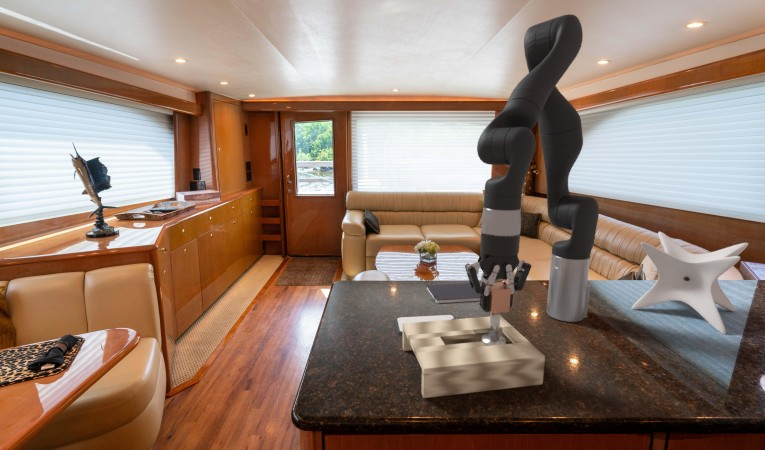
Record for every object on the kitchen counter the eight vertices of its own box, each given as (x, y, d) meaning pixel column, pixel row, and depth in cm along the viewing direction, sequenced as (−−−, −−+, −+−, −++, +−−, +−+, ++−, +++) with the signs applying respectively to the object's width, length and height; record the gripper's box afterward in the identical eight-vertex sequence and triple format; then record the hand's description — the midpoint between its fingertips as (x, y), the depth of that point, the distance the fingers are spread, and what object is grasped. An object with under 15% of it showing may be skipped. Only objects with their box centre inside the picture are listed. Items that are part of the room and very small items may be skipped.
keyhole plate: (498, 338, 89) (500, 315, 87) (542, 384, 71) (545, 356, 70) (402, 347, 85) (402, 323, 84) (423, 398, 67) (424, 368, 66)
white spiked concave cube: (630, 309, 105) (640, 241, 101) (649, 291, 118) (658, 231, 114) (725, 334, 90) (740, 256, 86) (734, 311, 103) (748, 242, 99)
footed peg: (498, 338, 81) (502, 281, 78) (509, 350, 76) (514, 289, 73) (477, 340, 80) (480, 282, 78) (487, 352, 75) (491, 291, 73)
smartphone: (398, 338, 90) (462, 335, 91) (398, 332, 90) (462, 329, 91) (395, 322, 99) (453, 319, 100) (395, 316, 98) (453, 313, 99)
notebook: (486, 286, 124) (425, 289, 122) (486, 281, 124) (425, 285, 121) (503, 300, 112) (436, 304, 109) (503, 296, 112) (436, 299, 109)
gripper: (523, 225, 78) (517, 300, 81) (459, 227, 76) (456, 305, 79) (543, 232, 71) (536, 315, 74) (474, 235, 68) (470, 320, 72)
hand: (495, 309), depth 77 cm, fingers closed on footed peg, 4 cm apart
